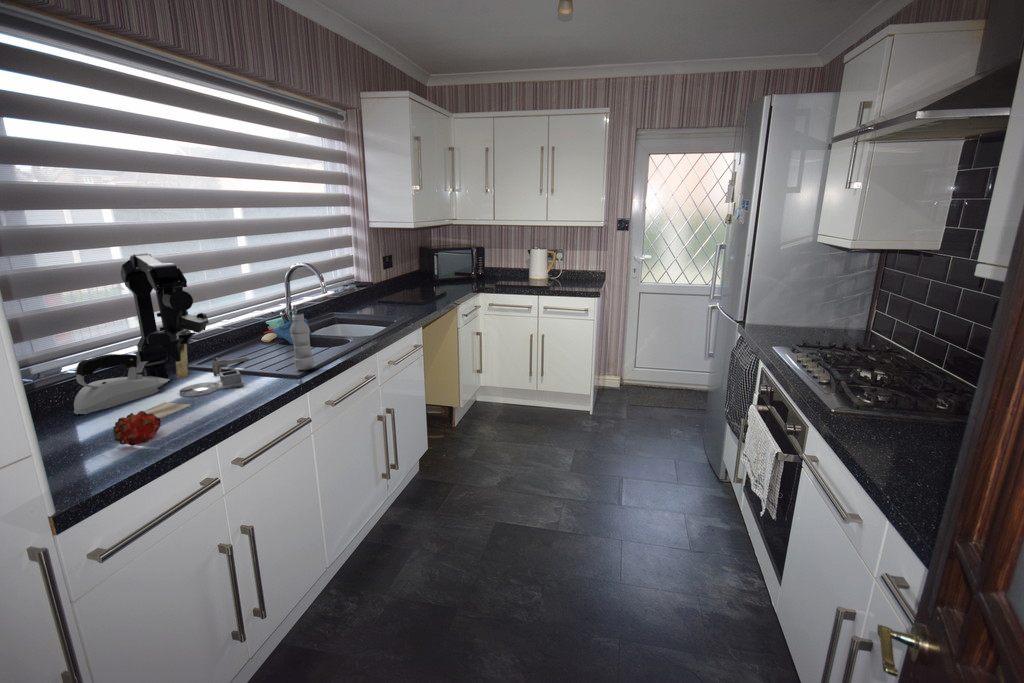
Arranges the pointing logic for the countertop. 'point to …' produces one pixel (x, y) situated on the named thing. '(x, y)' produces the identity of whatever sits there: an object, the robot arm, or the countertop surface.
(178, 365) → the brass cylinder
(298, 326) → the plastic bottle
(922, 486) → the countertop surface
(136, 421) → the dragon fruit
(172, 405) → the tan square plate
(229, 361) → the caliper
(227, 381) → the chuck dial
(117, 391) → the iron
